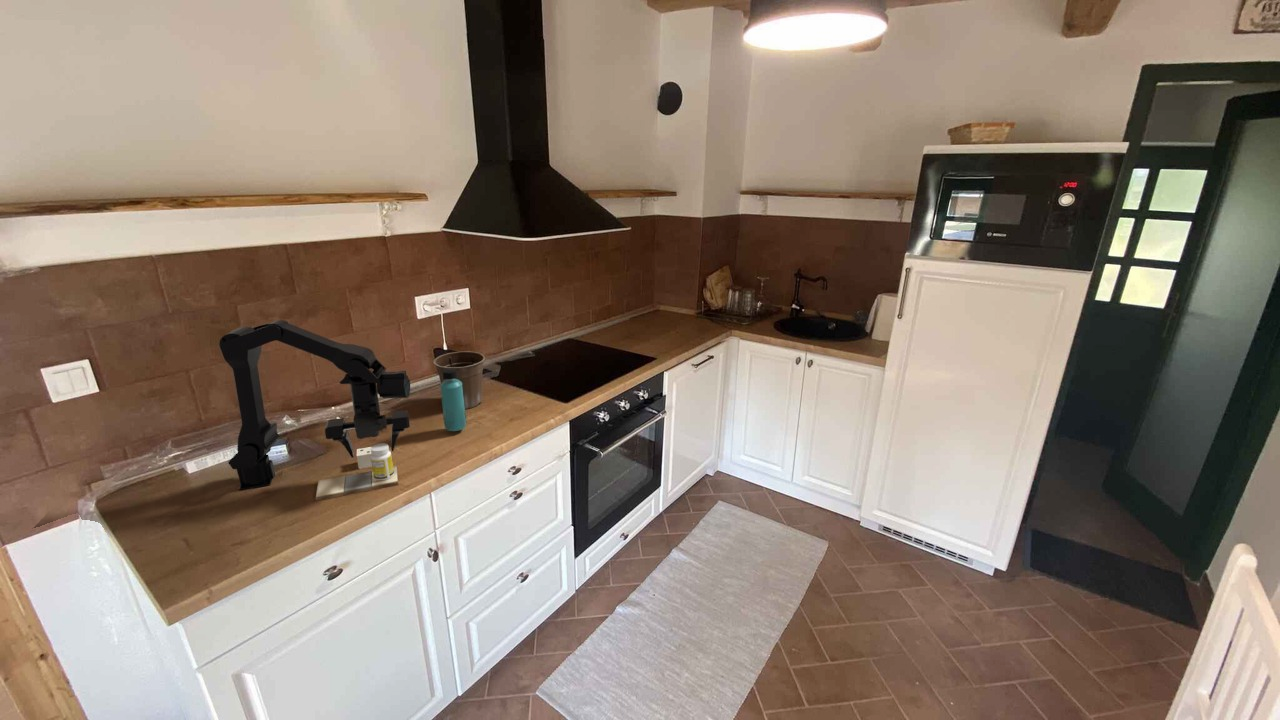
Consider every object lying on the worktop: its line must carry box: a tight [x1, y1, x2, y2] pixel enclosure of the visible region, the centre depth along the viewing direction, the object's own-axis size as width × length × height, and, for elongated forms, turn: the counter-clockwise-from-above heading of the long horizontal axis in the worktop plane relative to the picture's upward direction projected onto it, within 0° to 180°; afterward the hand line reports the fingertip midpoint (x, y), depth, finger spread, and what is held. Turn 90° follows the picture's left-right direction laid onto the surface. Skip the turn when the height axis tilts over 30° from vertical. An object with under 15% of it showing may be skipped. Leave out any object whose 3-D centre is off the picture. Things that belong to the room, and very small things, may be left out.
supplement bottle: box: [370, 442, 394, 480], centre depth 132 cm, size 5×5×8 cm
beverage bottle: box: [439, 369, 467, 432], centre depth 157 cm, size 6×7×20 cm
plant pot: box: [433, 350, 486, 410], centre depth 177 cm, size 16×16×16 cm
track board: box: [315, 466, 399, 502], centre depth 132 cm, size 18×8×1 cm, turn 116°
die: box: [356, 446, 372, 470], centre depth 140 cm, size 4×4×4 cm
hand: (373, 453), depth 135 cm, fingers open, 9 cm apart
